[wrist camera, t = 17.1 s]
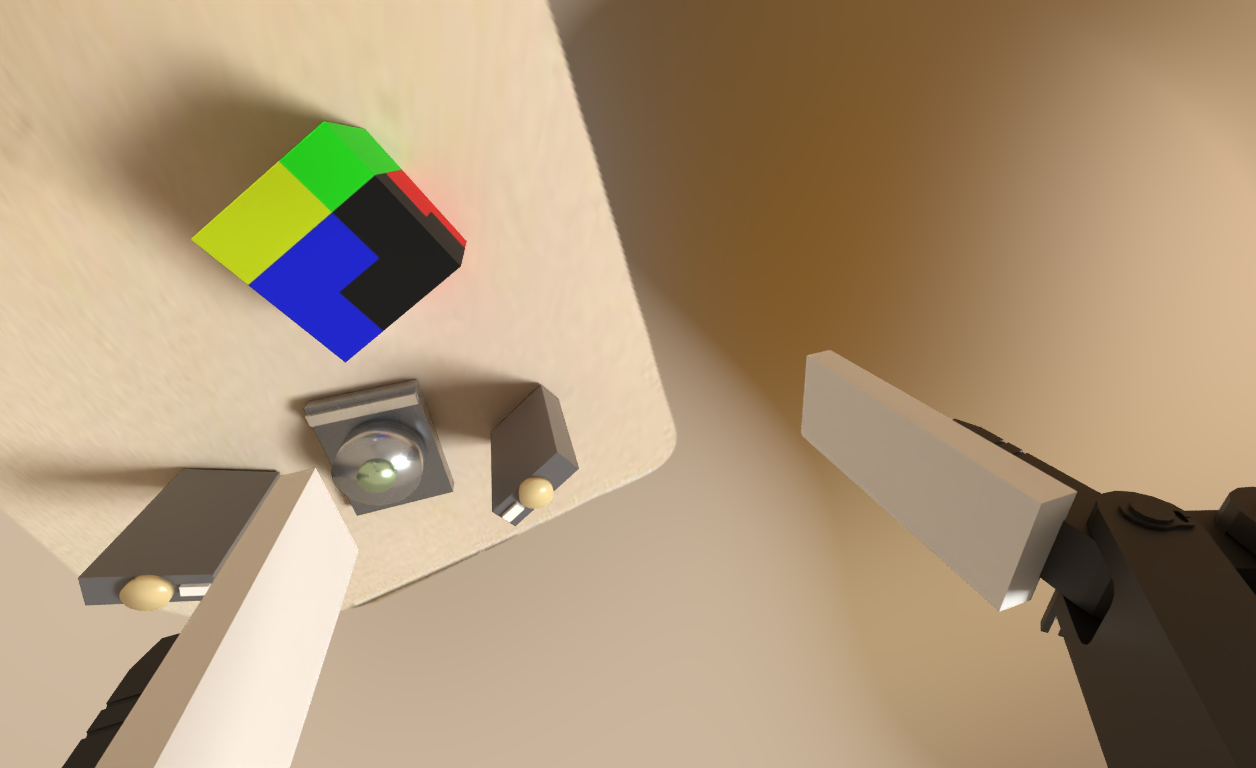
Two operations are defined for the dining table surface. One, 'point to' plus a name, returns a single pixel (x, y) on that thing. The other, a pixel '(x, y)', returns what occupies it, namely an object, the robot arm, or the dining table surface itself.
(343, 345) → the puzzle toy
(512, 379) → the dining table surface
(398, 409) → the levelling plate
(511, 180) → the dining table surface
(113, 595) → the dark grey flat block
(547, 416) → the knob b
